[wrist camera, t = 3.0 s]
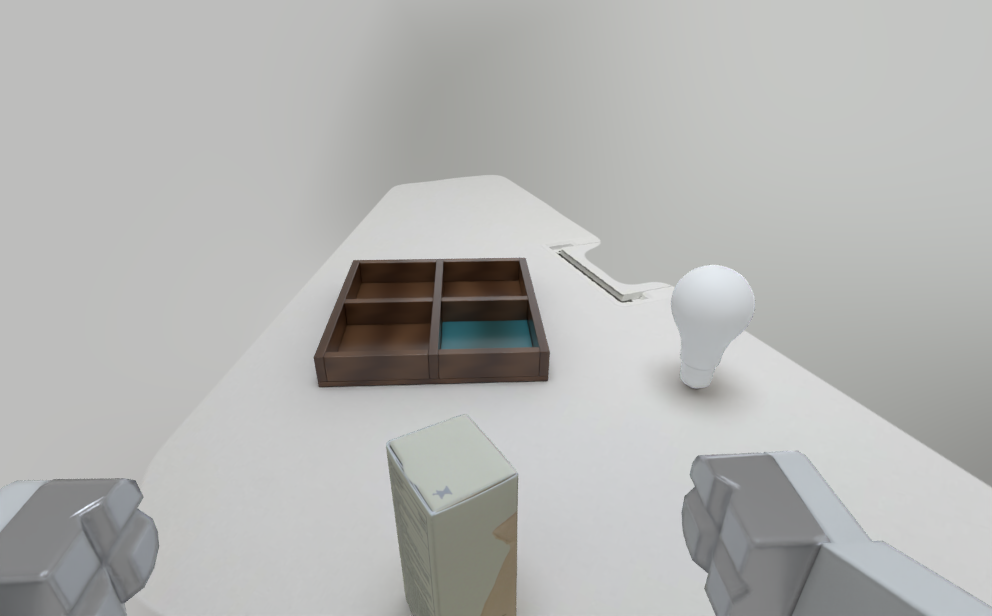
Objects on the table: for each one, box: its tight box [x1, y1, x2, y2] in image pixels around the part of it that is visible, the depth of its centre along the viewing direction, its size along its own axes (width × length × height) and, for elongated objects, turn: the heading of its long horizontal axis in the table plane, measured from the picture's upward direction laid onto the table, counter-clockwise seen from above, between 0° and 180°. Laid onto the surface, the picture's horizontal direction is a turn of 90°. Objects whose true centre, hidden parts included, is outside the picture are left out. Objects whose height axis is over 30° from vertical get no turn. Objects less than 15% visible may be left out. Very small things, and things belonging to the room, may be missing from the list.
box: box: [386, 414, 518, 616], centre depth 27 cm, size 5×4×11 cm
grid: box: [314, 258, 550, 387], centre depth 55 cm, size 19×19×3 cm
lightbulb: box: [671, 265, 755, 388], centre depth 45 cm, size 6×6×11 cm
